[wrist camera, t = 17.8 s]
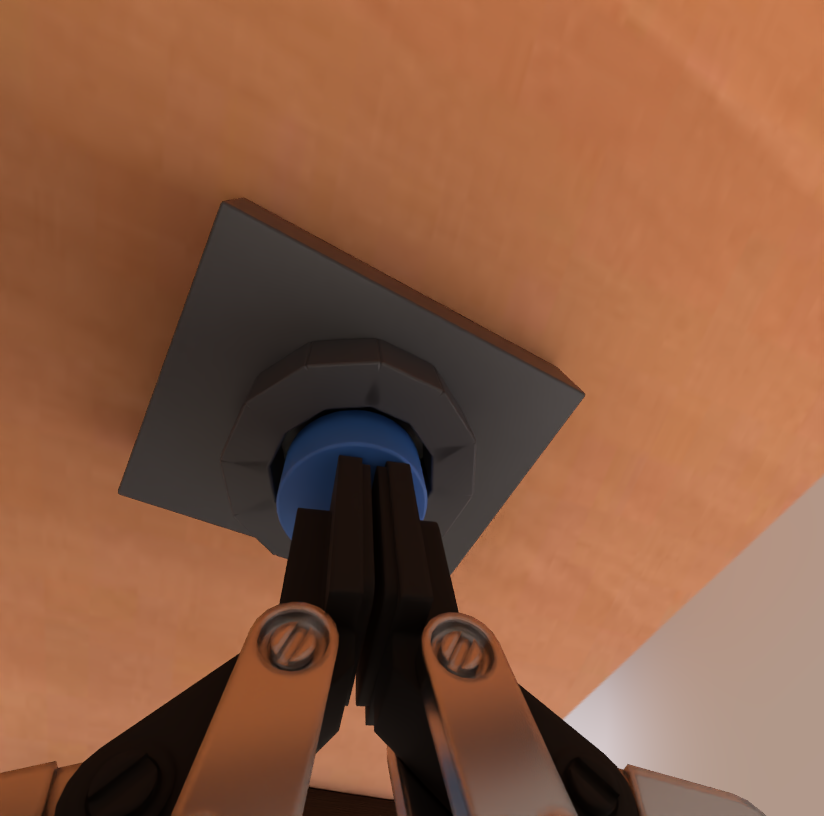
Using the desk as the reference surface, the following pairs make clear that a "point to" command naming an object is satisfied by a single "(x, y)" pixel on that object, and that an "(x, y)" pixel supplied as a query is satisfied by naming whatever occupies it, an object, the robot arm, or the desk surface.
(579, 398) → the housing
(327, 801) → the panel
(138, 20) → the desk surface
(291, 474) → the button
